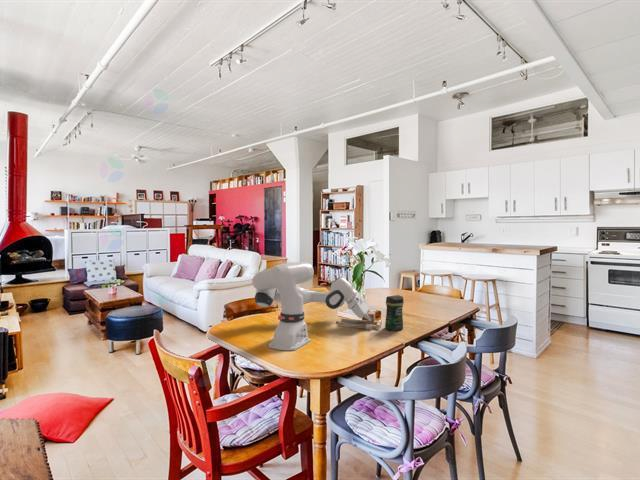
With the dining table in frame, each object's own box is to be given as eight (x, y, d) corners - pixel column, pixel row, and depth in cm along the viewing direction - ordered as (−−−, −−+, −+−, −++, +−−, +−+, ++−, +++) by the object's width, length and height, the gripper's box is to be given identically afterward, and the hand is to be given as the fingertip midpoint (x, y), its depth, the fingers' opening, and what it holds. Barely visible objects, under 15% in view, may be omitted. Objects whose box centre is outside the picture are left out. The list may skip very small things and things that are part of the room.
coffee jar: (392, 332, 193) (392, 298, 192) (382, 328, 200) (383, 295, 199) (405, 329, 198) (406, 296, 197) (396, 325, 205) (396, 293, 204)
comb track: (378, 331, 195) (378, 325, 194) (336, 327, 202) (336, 321, 202) (382, 324, 207) (382, 319, 207) (342, 320, 215) (342, 315, 214)
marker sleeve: (373, 327, 200) (373, 314, 199) (366, 327, 201) (366, 313, 200) (375, 325, 204) (375, 311, 204) (368, 324, 206) (368, 311, 205)
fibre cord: (378, 326, 202) (378, 324, 202) (377, 327, 201) (377, 325, 201) (336, 323, 209) (336, 320, 209) (336, 323, 208) (336, 321, 208)
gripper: (355, 300, 215) (371, 317, 213) (347, 308, 196) (364, 327, 193) (362, 293, 214) (378, 310, 211) (355, 300, 194) (373, 320, 192)
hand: (371, 318), depth 202 cm, fingers closed on marker sleeve, 5 cm apart
